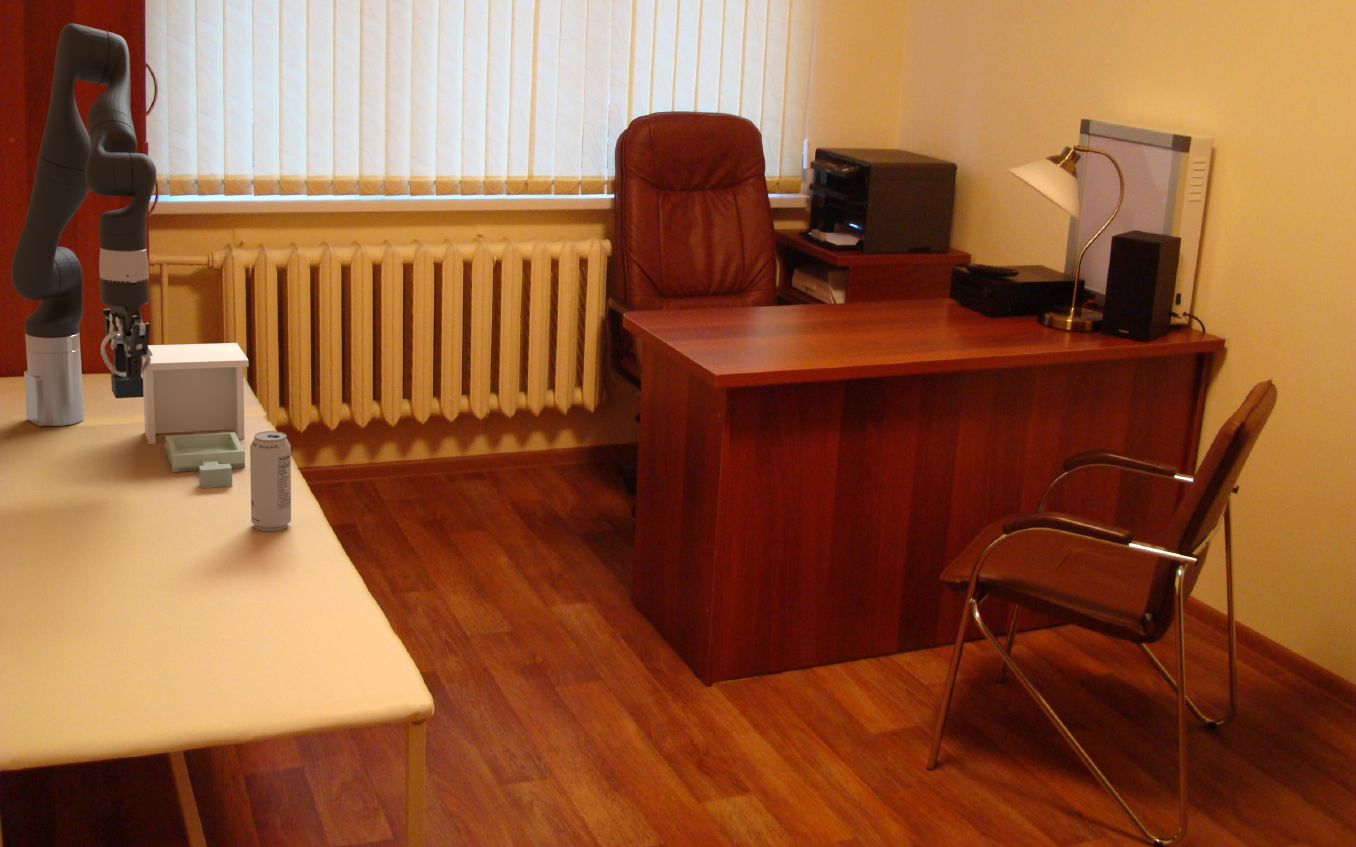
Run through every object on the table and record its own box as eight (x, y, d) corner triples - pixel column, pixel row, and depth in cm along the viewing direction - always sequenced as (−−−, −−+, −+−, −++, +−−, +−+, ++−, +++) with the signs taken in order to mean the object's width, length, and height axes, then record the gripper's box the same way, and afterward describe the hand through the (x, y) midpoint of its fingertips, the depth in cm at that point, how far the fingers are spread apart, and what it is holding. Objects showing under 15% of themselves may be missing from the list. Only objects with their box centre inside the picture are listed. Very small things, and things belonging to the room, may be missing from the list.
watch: (155, 396, 216) (154, 333, 213) (104, 399, 212) (101, 334, 209) (151, 388, 221) (149, 326, 218) (100, 390, 217) (97, 327, 214)
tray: (253, 484, 219) (253, 466, 218) (179, 489, 214) (178, 471, 213) (235, 447, 238) (234, 430, 237) (166, 451, 232) (165, 434, 231)
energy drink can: (260, 517, 205) (259, 428, 201) (297, 521, 205) (296, 432, 200) (245, 530, 199) (243, 439, 195) (282, 534, 199) (281, 443, 195)
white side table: (249, 448, 238) (248, 360, 233) (151, 454, 230) (148, 363, 226) (238, 427, 250) (237, 343, 245) (145, 432, 242) (141, 345, 237)
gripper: (84, 268, 213) (88, 367, 217) (119, 284, 203) (122, 387, 208) (129, 266, 218) (132, 363, 223) (165, 281, 208) (167, 382, 213)
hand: (127, 374), depth 215 cm, fingers closed on watch, 4 cm apart
